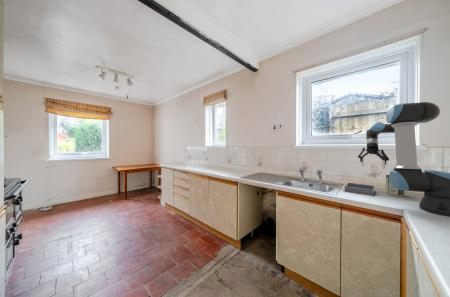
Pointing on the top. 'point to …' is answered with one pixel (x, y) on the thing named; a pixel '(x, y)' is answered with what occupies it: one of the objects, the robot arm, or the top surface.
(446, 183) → the robot arm
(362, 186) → the tray
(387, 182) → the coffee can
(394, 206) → the top surface
